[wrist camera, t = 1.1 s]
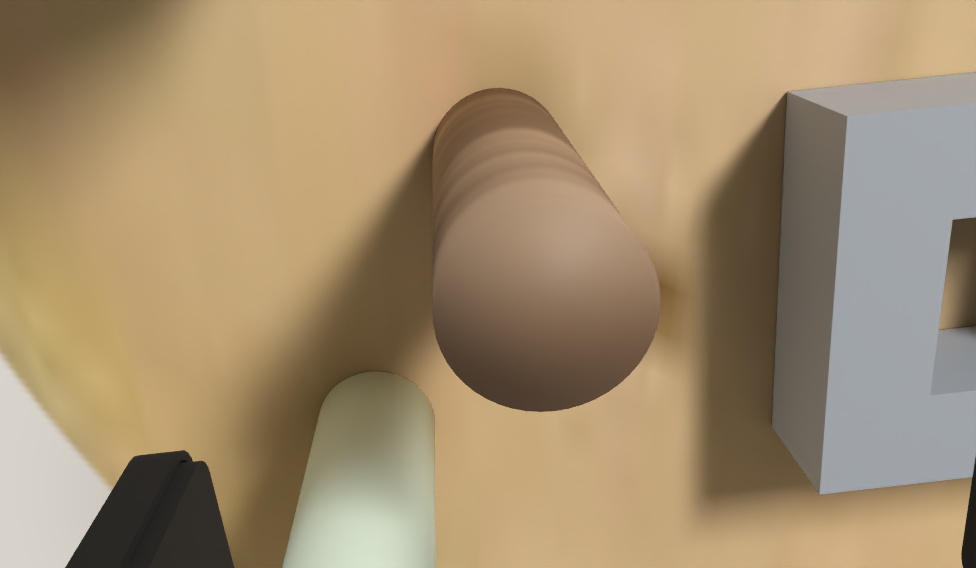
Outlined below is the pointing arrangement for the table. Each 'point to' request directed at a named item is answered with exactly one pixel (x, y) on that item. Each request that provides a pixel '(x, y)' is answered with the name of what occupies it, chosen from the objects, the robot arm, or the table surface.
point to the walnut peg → (532, 261)
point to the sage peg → (368, 479)
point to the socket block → (875, 284)
